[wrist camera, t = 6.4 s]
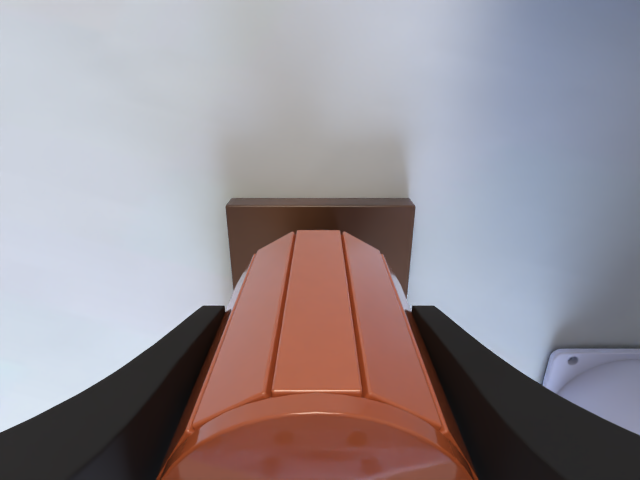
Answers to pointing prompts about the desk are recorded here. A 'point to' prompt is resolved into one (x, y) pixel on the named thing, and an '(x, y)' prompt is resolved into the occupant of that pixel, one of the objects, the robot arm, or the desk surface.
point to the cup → (317, 376)
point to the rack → (322, 226)
